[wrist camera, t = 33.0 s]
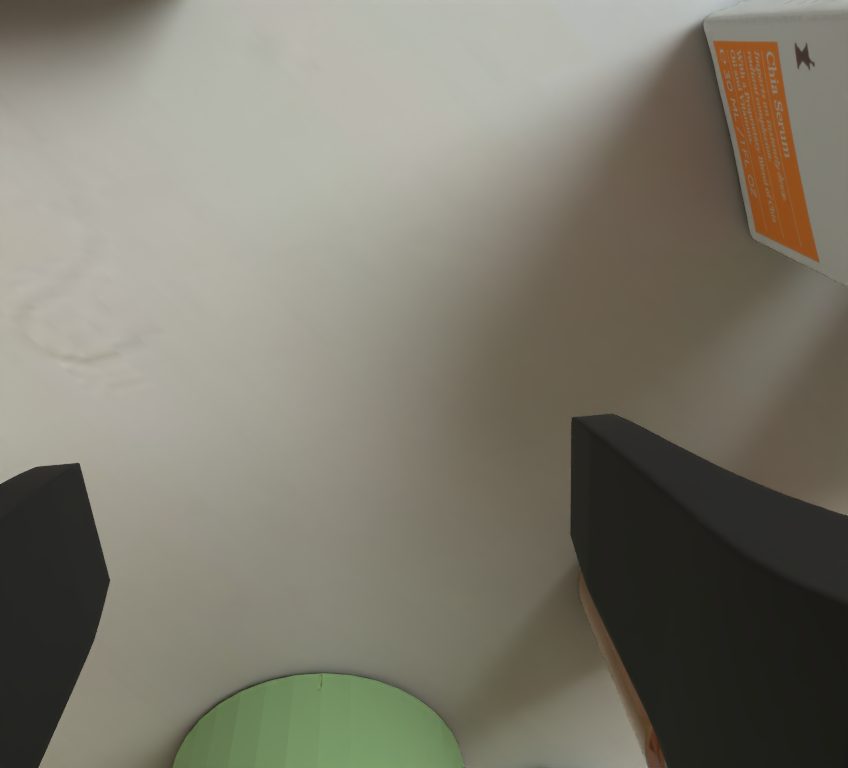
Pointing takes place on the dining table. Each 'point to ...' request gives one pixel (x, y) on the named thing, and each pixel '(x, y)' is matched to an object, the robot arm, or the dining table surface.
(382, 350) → the dining table surface
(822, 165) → the cosmetic box
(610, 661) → the jar
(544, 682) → the dining table surface
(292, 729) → the mug
